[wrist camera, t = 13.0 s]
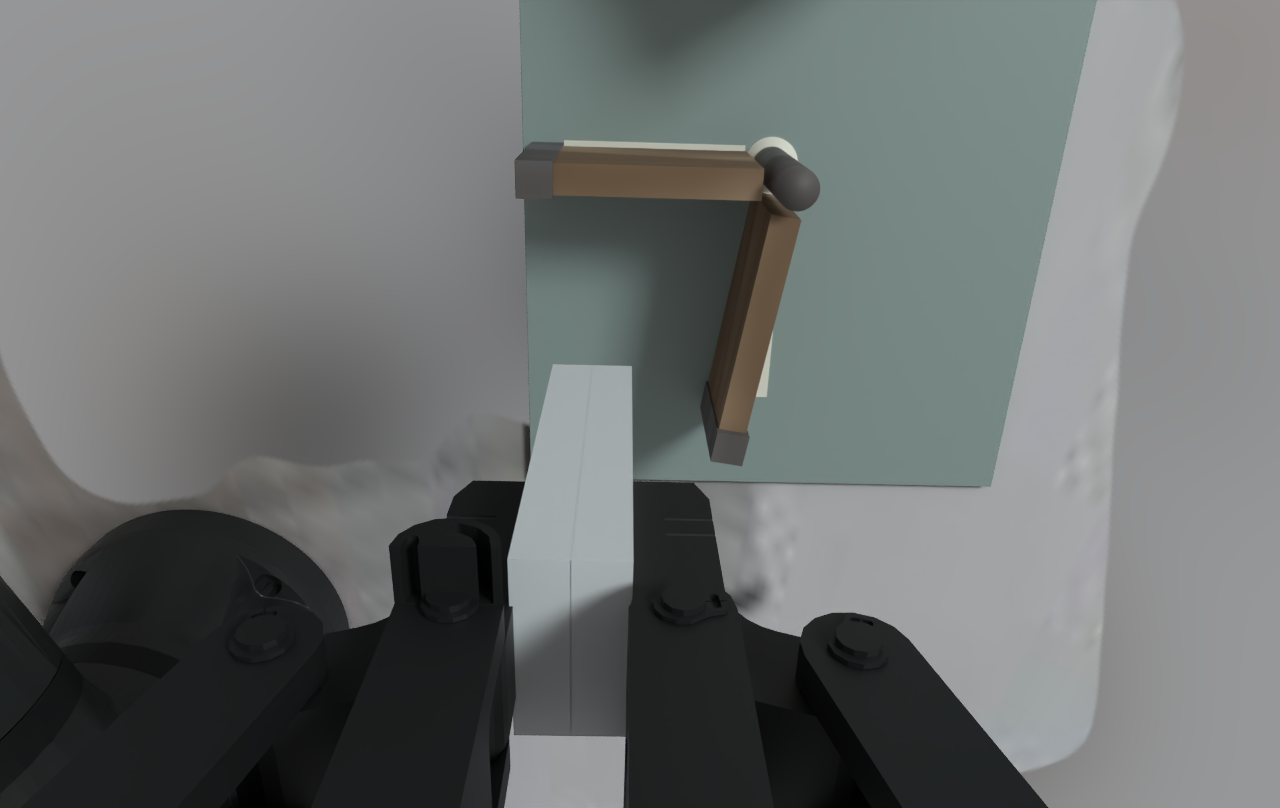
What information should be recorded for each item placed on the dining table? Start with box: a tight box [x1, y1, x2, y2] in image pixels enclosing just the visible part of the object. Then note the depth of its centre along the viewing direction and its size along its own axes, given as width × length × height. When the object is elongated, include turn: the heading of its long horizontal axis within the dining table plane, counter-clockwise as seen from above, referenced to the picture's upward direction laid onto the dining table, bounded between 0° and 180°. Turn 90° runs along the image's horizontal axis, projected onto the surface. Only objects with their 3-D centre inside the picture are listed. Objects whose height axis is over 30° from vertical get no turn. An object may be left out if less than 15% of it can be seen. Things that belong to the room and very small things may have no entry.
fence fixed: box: [515, 142, 820, 212], centre depth 35 cm, size 2×11×7 cm, turn 88°
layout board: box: [520, 0, 1097, 487], centre depth 40 cm, size 24×24×1 cm
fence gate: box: [700, 193, 801, 466], centre depth 37 cm, size 1×11×6 cm, turn 169°
